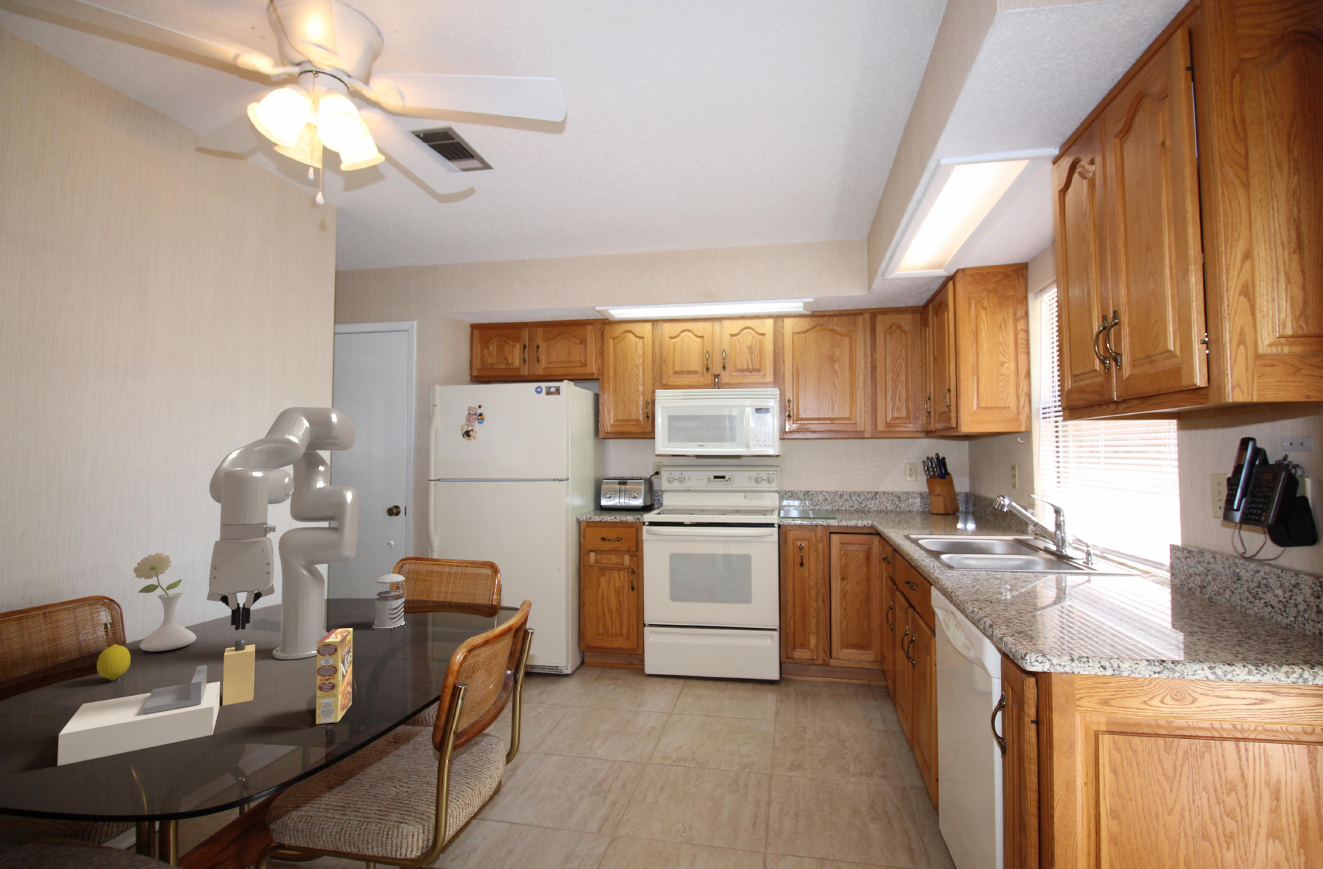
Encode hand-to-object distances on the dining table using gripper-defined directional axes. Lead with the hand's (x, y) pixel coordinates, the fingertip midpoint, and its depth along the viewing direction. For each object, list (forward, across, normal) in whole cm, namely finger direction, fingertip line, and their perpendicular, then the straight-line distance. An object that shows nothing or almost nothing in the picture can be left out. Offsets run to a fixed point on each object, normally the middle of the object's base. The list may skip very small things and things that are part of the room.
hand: (240, 628), depth 114 cm
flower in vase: (+16, +18, -60) cm, 64 cm away
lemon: (+16, +24, -38) cm, 48 cm away
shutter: (+12, +9, -1) cm, 15 cm away
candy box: (+17, -16, +8) cm, 25 cm away
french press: (+16, -35, -52) cm, 64 cm away
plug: (+17, 0, -11) cm, 20 cm away
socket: (+17, +13, -1) cm, 22 cm away
